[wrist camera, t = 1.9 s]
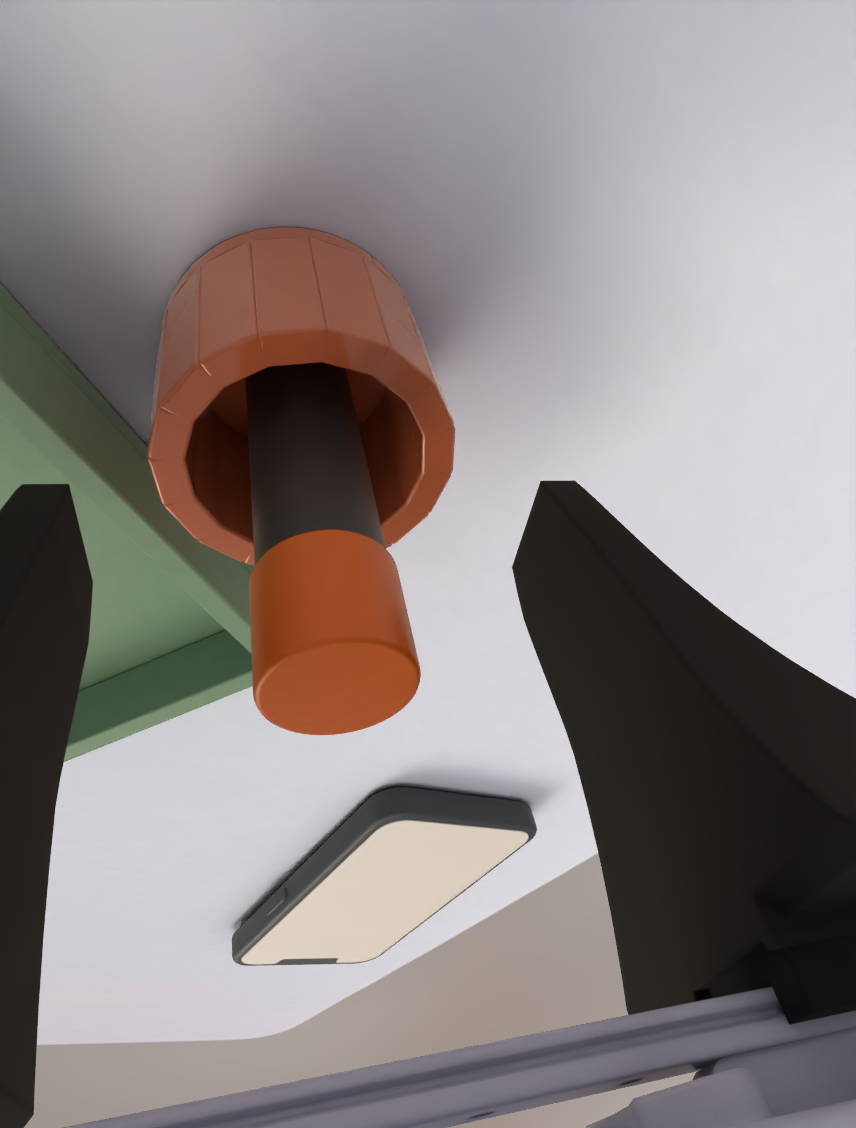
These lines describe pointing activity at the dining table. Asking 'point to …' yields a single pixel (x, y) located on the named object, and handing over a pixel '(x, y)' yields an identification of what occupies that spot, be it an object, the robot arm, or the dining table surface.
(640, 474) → the dining table surface
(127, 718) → the tray
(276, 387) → the marker
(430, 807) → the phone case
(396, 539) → the pen pot
